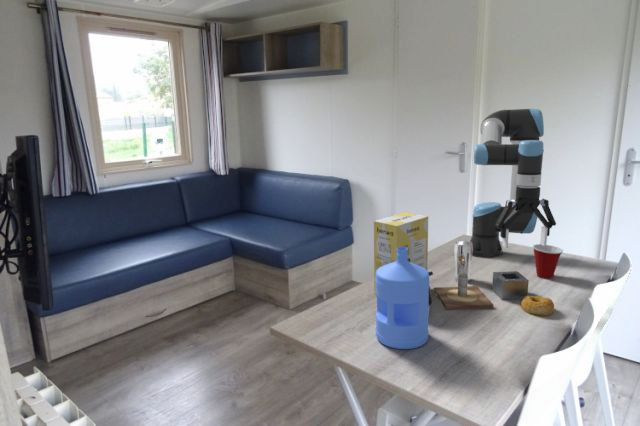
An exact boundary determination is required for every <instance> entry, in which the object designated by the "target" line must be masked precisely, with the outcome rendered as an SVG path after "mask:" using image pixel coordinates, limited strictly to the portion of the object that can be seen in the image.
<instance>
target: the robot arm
mask: <svg viewBox="0 0 640 426" xmlns="http://www.w3.org/2000/svg"><path fill="white" fill-rule="evenodd" d="M544 127H545V126H544V117H543V112H542V110H540V109H538V108H522V109H521V108H518V109H501V110H498V111H494V112H493V113H491V114H489V115H488V116H486V117H485V118H484V119H483V120H482V122H481V124H480V129H479V130H480V135H481V141H480V144H475V146H474V148H473V150H474V151H473V163H474V164H475V165H476V166H477V165H478V166H479V165H481V166H511V179H510V194H509V197H510V198H509V200H508V199H507V200H506V201H505V206H502V205H501V203H500V202H496V201H495V202H493V201H492V202H491V201H490V202H481V203H479V204H478V203H477V204H476V205H475V206H474V207H473V211H472V230H471V232H472V233H471V238H470V240H469V242H472V243H473V244H472V245H473V256H474V257H477V258H478V257H479V258H491V259H492V258H499V257H501V256H502V255H503V247H504V248H505V249H506V248H509V246H508V245H509V234H510V233H511V234H521V235H522V234H532V233H533V232H534V231H535V229H536V226H537V222H538V219H539V221H540V222H541V224H542V225H543V226H541V228H540V239H539V240H540V241H539V244H541V245H543V246H546V245H547V243H548V240H547V239H548V237H549V236H550V232H551V231H550V230H551V229H552V228H553V227H554V226H557V222H556V220H555V218H554V215H553V213H552V211H551V209H550V206H549V205H550V201H549V199H545V198H542V199H540V196H541V188H540V186H542V185H541V182H542V171H543V170H542V169H543V160H544V153H545V152H544V151H545V150H544V142H543V140H540V138H542V137H543V136H544V133H545V131H544V130H545V128H544ZM502 138H509V142H510V144H507V143H505V144H504V143H503V144H502V140H503V139H502ZM539 206H541V207H542V209H543V212H544V214H545V216H546V218H545V216H544V215H543V214H542V212H541V211H540V209H539V208H538V207H539ZM500 238H501V239H502V243H501V241H500V240H501V239H500Z"/></svg>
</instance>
